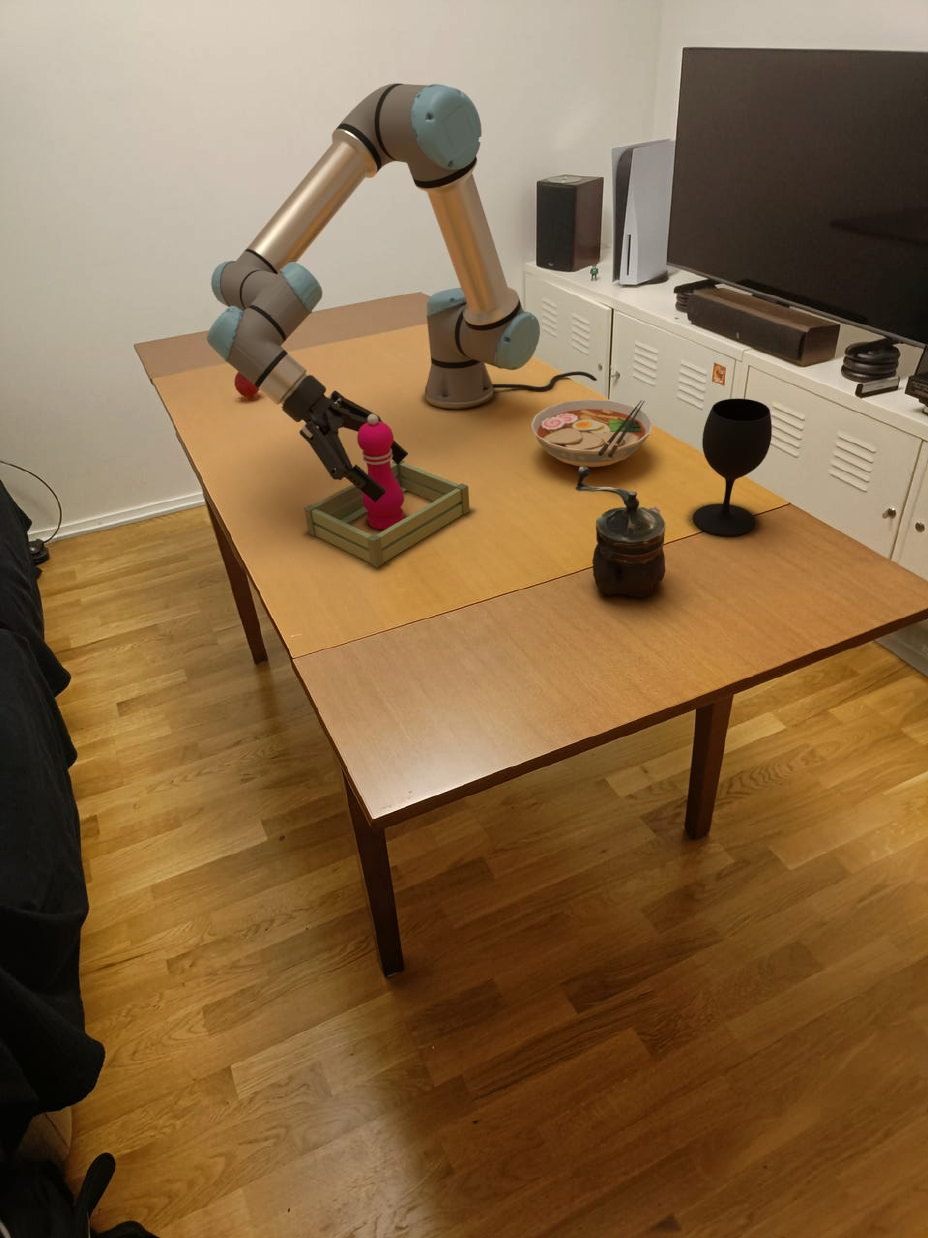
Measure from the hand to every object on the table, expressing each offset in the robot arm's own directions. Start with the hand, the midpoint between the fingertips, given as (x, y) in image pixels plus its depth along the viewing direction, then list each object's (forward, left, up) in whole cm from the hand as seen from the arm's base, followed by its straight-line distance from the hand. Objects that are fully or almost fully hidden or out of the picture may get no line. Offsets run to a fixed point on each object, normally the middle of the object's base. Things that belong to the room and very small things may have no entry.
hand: (392, 477), depth 144 cm
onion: (+18, -68, -9) cm, 71 cm away
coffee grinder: (-27, +32, -9) cm, 42 cm away
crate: (+1, 0, -9) cm, 9 cm away
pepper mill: (+2, -1, -9) cm, 9 cm away
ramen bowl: (-41, -8, -9) cm, 42 cm away
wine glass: (-52, +22, -9) cm, 57 cm away
